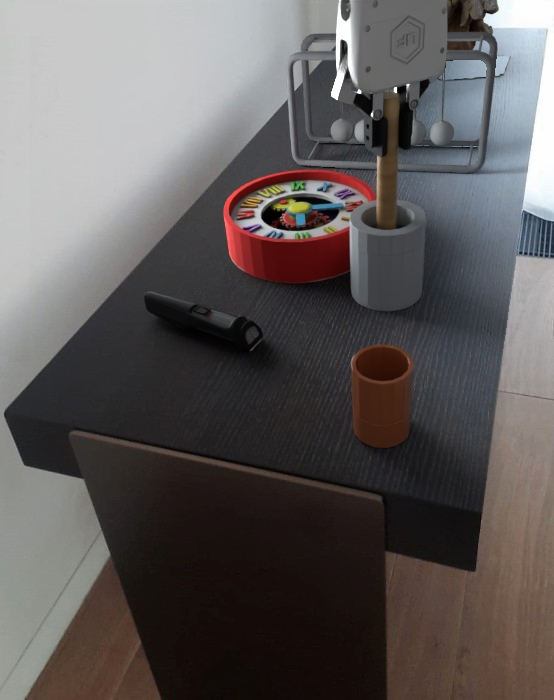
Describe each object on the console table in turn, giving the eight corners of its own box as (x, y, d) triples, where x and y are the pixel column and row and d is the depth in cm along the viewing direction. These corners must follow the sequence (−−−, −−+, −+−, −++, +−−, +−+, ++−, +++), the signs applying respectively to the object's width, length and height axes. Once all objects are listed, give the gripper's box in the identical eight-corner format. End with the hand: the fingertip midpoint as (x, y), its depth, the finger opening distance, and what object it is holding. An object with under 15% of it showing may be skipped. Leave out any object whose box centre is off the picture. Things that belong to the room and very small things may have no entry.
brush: (405, 260, 81) (411, 95, 69) (381, 268, 80) (383, 103, 68) (389, 248, 84) (393, 87, 72) (366, 256, 83) (366, 94, 71)
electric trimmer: (161, 303, 87) (156, 282, 85) (265, 336, 80) (262, 313, 78) (141, 320, 84) (135, 298, 82) (247, 355, 77) (243, 332, 75)
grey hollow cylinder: (436, 296, 83) (441, 221, 77) (375, 319, 80) (375, 243, 74) (396, 265, 89) (397, 192, 83) (338, 285, 86) (335, 212, 80)
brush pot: (421, 434, 66) (425, 369, 61) (372, 456, 64) (372, 391, 59) (389, 400, 70) (390, 337, 65) (342, 420, 68) (340, 357, 63)
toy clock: (226, 176, 100) (367, 164, 99) (231, 213, 103) (367, 201, 103) (219, 248, 84) (386, 234, 83) (225, 289, 88) (386, 276, 87)
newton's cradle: (487, 146, 114) (499, 30, 103) (483, 175, 106) (496, 52, 95) (307, 141, 122) (300, 32, 111) (291, 167, 114) (283, 53, 103)
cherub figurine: (513, 54, 148) (525, -41, 137) (500, 83, 136) (511, -20, 125) (430, 51, 155) (434, -40, 143) (409, 79, 142) (413, -19, 131)
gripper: (334, -28, 57) (339, 182, 68) (492, -60, 62) (472, 141, 73) (291, -41, 62) (303, 156, 74) (440, -70, 67) (429, 119, 79)
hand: (387, 147), depth 73 cm, fingers closed on brush, 2 cm apart
